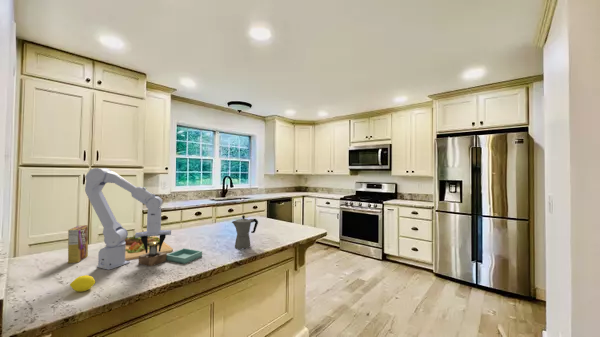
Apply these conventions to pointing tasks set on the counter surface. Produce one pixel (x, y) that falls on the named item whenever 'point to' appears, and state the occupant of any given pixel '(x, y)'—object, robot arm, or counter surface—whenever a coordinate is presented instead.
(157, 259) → the block
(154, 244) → the pin
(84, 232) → the candy box
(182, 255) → the tray
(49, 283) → the counter surface
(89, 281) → the lemon
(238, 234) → the coffeepot
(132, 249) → the cutting board
